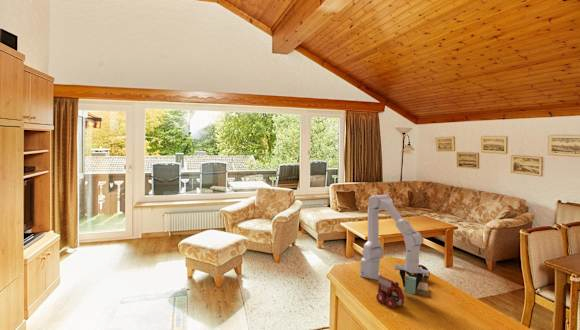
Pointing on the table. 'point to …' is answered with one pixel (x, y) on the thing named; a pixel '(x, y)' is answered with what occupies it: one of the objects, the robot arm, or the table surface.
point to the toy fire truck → (389, 292)
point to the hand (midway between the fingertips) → (410, 287)
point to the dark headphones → (424, 275)
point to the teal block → (410, 284)
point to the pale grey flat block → (422, 289)
